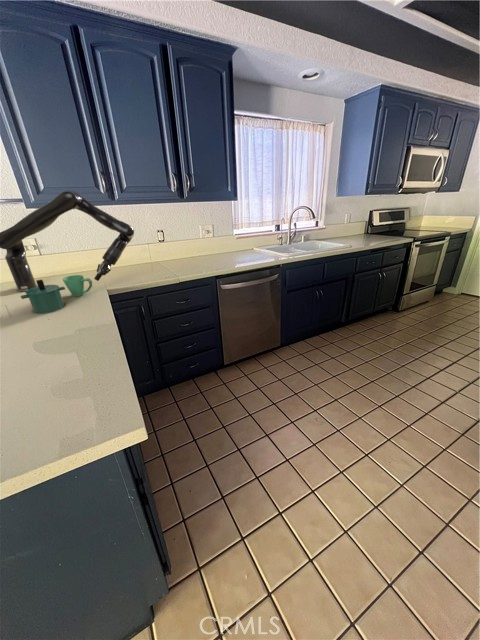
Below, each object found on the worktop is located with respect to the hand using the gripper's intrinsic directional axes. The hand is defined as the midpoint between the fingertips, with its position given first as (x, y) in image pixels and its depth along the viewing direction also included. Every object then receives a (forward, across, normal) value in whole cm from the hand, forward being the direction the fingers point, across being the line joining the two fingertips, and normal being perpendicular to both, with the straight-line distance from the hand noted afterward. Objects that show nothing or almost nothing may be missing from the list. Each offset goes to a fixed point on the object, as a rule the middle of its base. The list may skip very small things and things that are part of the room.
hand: (96, 280), depth 152 cm
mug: (+11, 0, -2) cm, 11 cm away
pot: (+24, +8, -14) cm, 29 cm away
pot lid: (+17, +8, -21) cm, 28 cm away
